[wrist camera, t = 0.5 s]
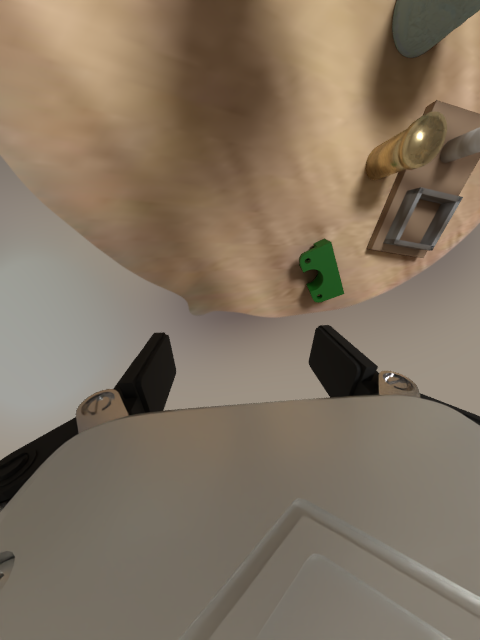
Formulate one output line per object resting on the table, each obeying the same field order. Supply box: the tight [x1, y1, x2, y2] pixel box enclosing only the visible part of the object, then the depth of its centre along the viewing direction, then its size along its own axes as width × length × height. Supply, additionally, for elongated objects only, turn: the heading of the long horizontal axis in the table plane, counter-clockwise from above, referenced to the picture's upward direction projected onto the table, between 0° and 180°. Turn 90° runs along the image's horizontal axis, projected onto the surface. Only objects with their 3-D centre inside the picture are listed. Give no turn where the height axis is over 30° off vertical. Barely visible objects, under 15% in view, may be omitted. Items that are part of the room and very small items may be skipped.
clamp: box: [299, 239, 344, 303], centre depth 37 cm, size 12×6×9 cm, turn 22°
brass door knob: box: [366, 111, 447, 180], centre depth 28 cm, size 6×6×8 cm
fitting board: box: [367, 100, 480, 258], centre depth 31 cm, size 22×13×6 cm, turn 172°
